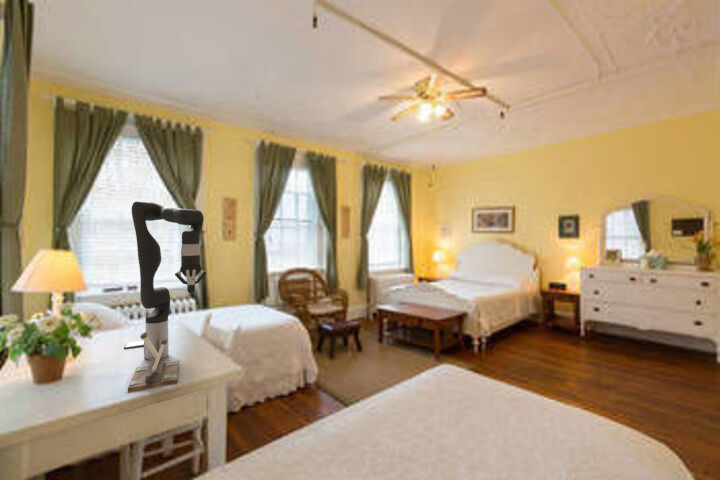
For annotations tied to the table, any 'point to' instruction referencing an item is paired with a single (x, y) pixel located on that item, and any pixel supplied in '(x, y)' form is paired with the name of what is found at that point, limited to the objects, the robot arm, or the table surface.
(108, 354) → the table surface
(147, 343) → the lever inner
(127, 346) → the phone case
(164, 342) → the lever outer
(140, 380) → the switch board
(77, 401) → the table surface
